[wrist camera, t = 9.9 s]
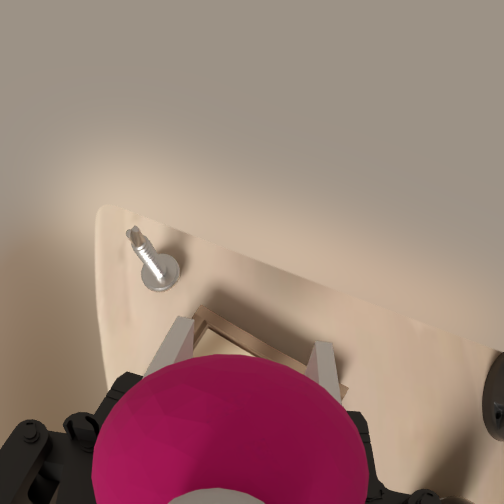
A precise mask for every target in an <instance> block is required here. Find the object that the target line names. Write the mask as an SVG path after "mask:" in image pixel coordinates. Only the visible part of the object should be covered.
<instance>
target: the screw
mask: <svg viewBox="0 0 504 504" xmlns="http://www.w3.org/2000/svg"><path fill="white" fill-rule="evenodd" d="M126 236H127V237H128V238H129V240H130V241H131V245H132V248H133V250H134V251H135V253H136V254H137V256H138V257H139V258H140V259H141V261H142V262H143V263H144V265H143V268H142V271H141V277H142V281H143V283H144V284H145V286H146V287H147V288H148V289H150V290H151V291H154V292H165V291H168V290H170V289H171V288H172V287H174V286H175V284H176V283H177V282H178V279H179V276H180V267H179V265H178V263H177V261H176V260H175V259H174V258H173V257H172V256H170V255H168V254H157V252H156V250H155V249H154V247H153V246H152V244H151V242H150V241H149V240H148V238H147V237H146V236H143V235H142V233H141V232H140V230H139V228H138V227H137V226H134V227H133V228H132V229H131V230H130V229H129V230H127V231H126Z"/></svg>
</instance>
